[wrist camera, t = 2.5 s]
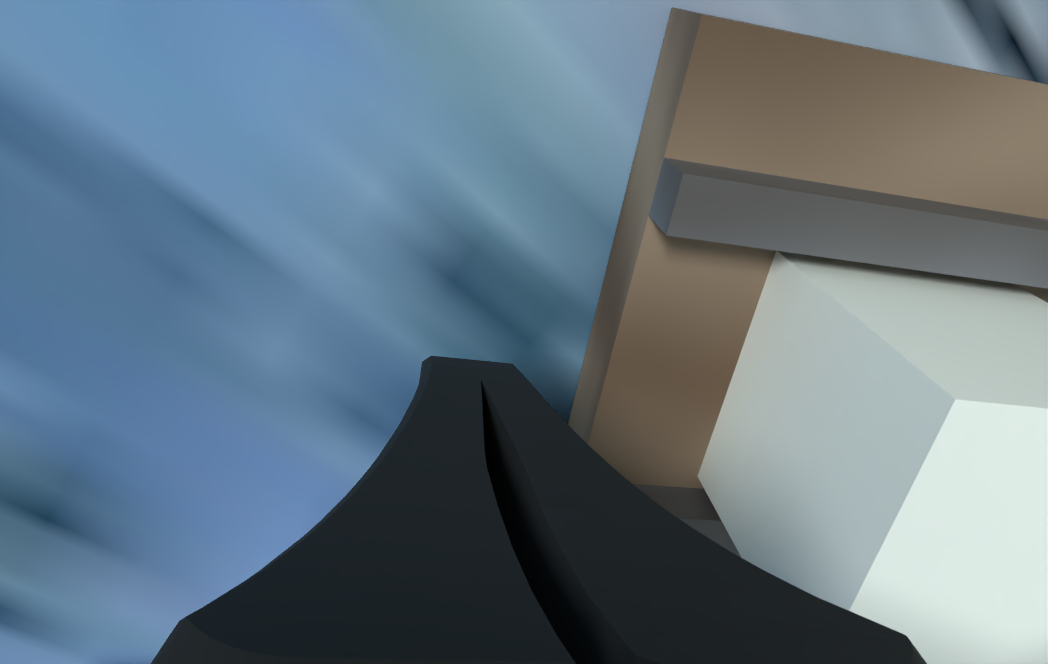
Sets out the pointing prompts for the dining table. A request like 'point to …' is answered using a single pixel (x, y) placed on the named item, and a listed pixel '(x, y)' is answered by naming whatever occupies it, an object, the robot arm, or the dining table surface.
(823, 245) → the rail board
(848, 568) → the pale grey cube
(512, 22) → the dining table surface
